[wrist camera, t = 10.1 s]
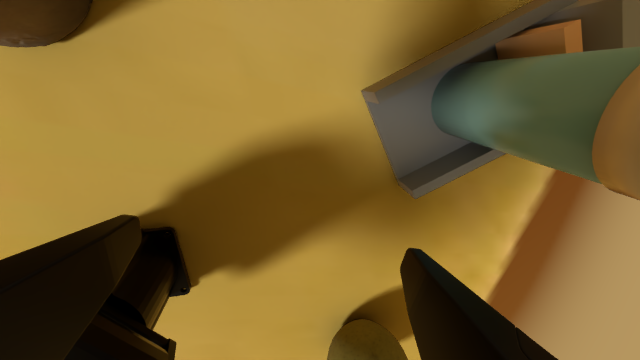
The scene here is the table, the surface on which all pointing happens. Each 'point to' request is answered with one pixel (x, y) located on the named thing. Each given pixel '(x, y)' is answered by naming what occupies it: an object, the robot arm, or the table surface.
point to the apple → (365, 343)
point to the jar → (552, 112)
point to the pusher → (542, 41)
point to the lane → (424, 75)
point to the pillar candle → (39, 21)
